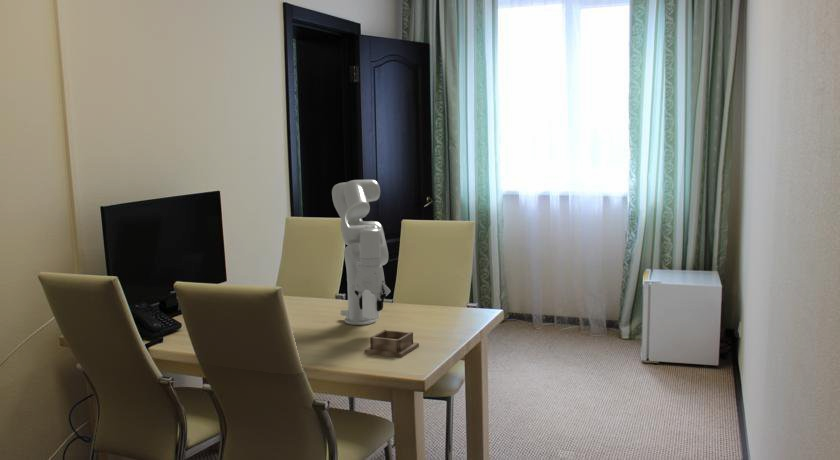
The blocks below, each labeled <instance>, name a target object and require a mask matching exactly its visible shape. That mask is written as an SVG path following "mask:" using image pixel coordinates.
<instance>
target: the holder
mask: <svg viewBox="0 0 840 460" xmlns="http://www.w3.org/2000/svg"><path fill="white" fill-rule="evenodd" d="M369 343H370V346H368V347H366V348H365V349H364V354H367V355H368V354H369V355H379V356H388V357H396V358H403V357H404V356H406V355H408V354H410V353H411V352H412V351H414V350H416V349H417V348H418V347H420V343H419V342H414V332H413V331H411V332H410V331H401V330H400V331H399V330H391V329H390V330H389V329H384V330H381V331H380V332H378V333H376V334H374V335H373V336H370V337H369Z"/></svg>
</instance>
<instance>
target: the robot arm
mask: <svg viewBox="0 0 840 460" xmlns="http://www.w3.org/2000/svg"><path fill="white" fill-rule="evenodd" d="M331 196H332V202H333V206H334V208H335V211H336V212H337V214H338V216H339V218H340V232H341V236H342V240H343V243H344V244H345V245H347V246H345V248H344V250H343V255H344V257H343V258H344V262H345V263H344V264H345V268H346V281H347V282H346V283H347V309H341V310H340V313H339V314H340V316H345V318H344V323H345V324H347V325H354V326H363V325H370V324H373V323H376V322H377V319H373V320H369V319H364V318H363V308H362V293H363V292H364V290H369V291H371V293H372V294H376V295H377V298H378V301H377V311H380V312H381V311H382V310H383V308H384V300H385V298H387V296H388V295H389V294H390V293H391V289H390V288H389V287H388V286H387V284H386V281H385V274H384V268H383V266H385V265H386V264H387V263H388V261H389V250H388V245H387V241H386V238H385V231H384V227H383V225H382V224H381V223H380V222H379V221H375V220H369V221H368V220H367V221H365V220H363V218H365V217H367V215H368V214H369V213H370V210H371V206H370V202H376V201H378V200H379V199H380V196H381V187H380V184H379V182H378V181H377V180H375V179H353V180H349V181H346V182H339V183H337V184H334V186H333V187H332V189H331ZM383 292H384V293H383Z"/></svg>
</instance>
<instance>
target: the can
mask: <svg viewBox="0 0 840 460" xmlns="http://www.w3.org/2000/svg"><path fill="white" fill-rule="evenodd" d="M377 301H378V298H377V295H376V294H372V293H371V291H369V290H364V292H363V293H362V308H363V318H364V319H369V320H373V319H376V320H377V319H379V318H380V317H381V310H380V311H377Z"/></svg>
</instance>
